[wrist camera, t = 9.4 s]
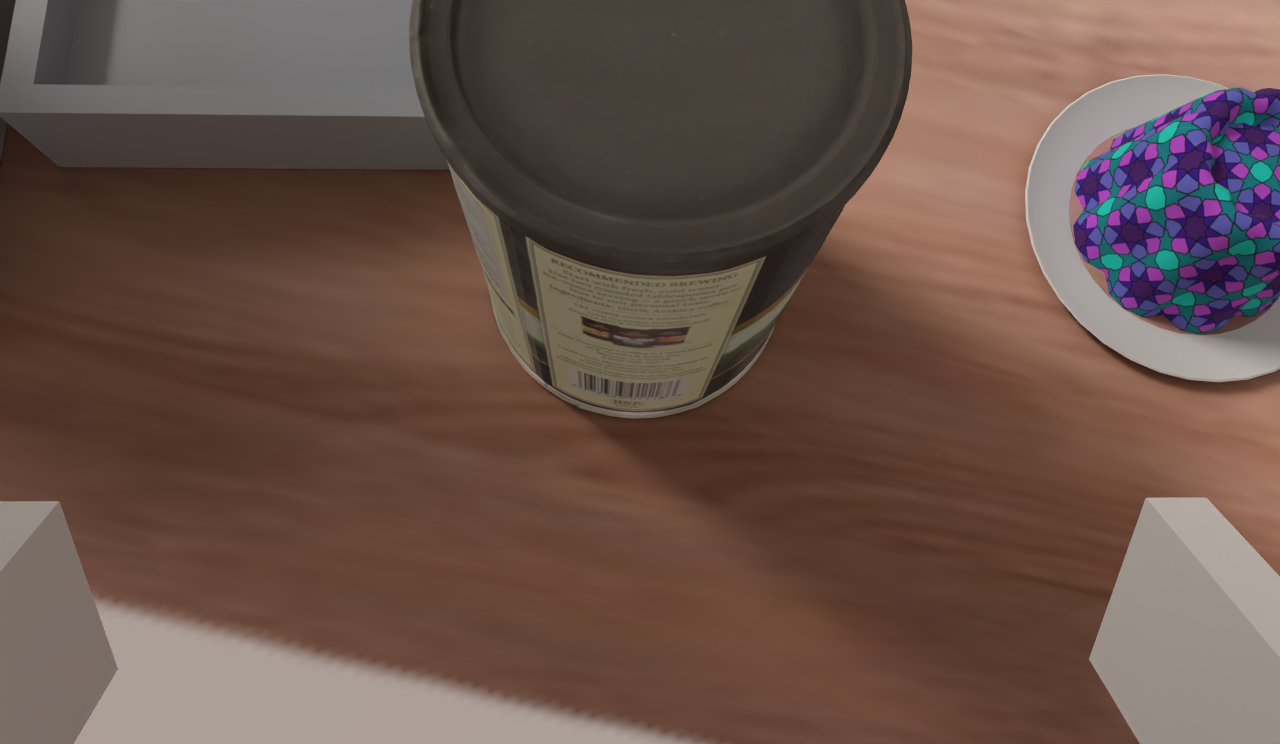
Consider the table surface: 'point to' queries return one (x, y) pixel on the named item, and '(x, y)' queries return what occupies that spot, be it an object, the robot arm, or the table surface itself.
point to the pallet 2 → (217, 84)
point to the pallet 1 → (4, 51)
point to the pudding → (1166, 221)
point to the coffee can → (654, 172)
